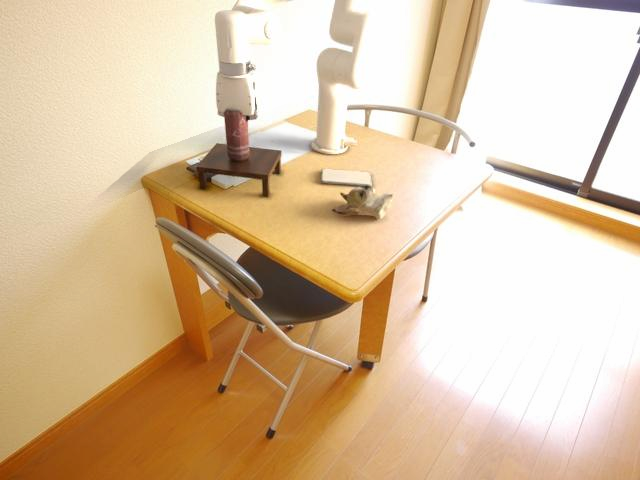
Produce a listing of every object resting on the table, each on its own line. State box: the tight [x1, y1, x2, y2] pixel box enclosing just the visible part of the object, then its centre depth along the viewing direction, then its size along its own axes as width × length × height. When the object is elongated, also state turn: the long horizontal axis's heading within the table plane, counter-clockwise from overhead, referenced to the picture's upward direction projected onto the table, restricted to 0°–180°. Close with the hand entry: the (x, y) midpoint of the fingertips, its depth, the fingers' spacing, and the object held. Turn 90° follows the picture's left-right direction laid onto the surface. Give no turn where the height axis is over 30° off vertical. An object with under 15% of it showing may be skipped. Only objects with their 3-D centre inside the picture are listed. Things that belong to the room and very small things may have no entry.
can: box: [223, 110, 250, 161], centre depth 110 cm, size 6×6×14 cm
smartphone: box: [320, 168, 373, 187], centre depth 123 cm, size 8×1×15 cm
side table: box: [195, 142, 282, 198], centre depth 117 cm, size 20×16×7 cm
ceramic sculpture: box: [330, 185, 394, 221], centre depth 106 cm, size 11×9×15 cm
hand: (239, 138), depth 111 cm, fingers closed
